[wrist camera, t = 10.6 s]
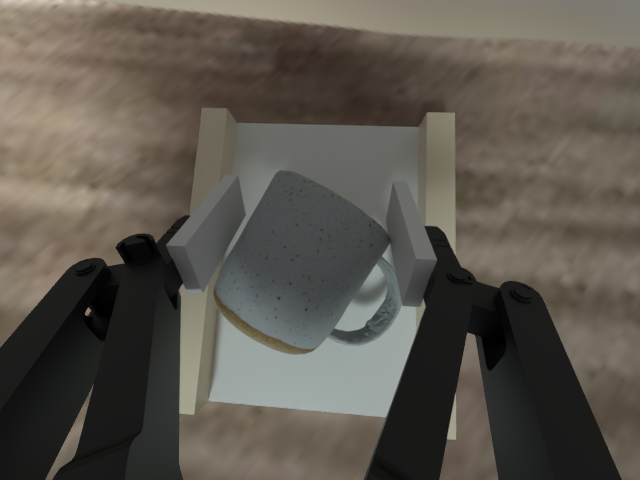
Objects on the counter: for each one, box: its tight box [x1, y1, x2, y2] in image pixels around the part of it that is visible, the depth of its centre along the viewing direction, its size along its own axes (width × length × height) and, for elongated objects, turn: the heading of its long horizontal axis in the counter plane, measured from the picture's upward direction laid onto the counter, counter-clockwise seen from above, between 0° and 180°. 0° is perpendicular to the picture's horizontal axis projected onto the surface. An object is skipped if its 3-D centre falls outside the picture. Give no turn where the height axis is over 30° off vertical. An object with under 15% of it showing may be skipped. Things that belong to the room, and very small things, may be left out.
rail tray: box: [179, 108, 456, 440], centre depth 20 cm, size 19×22×3 cm
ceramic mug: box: [213, 170, 402, 355], centre depth 15 cm, size 11×8×8 cm
